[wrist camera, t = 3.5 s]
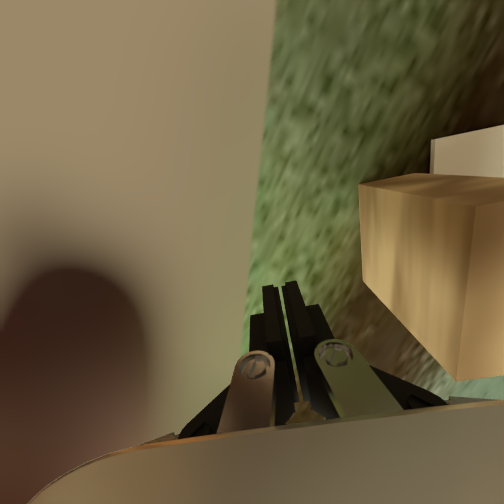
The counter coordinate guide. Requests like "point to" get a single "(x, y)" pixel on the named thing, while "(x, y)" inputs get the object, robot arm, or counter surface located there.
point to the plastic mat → (469, 153)
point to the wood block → (440, 264)
